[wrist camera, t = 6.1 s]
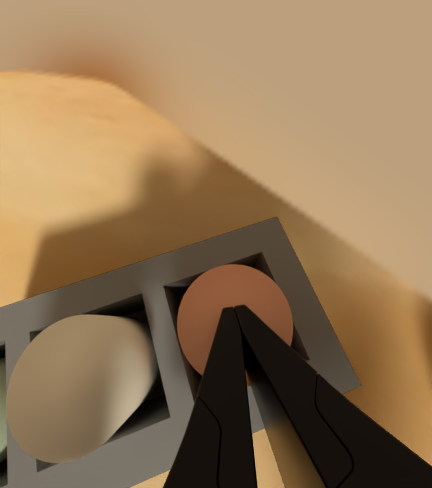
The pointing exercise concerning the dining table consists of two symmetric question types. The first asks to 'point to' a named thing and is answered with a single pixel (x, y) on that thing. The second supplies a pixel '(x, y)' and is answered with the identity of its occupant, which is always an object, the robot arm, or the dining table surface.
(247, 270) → the terracotta button
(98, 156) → the dining table surface
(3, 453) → the sage button
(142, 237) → the dining table surface
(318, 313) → the tray
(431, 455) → the dining table surface
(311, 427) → the robot arm
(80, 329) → the cream rounded egg shape
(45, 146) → the dining table surface
